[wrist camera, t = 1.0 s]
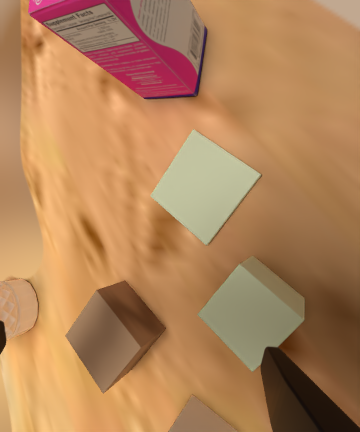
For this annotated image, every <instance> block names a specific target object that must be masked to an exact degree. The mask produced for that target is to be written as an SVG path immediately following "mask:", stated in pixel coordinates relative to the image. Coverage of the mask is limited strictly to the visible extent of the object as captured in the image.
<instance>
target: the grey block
mask: <svg viewBox="0 0 360 432" xmlns="http://www.w3.org/2000/svg"><path fill="white" fill-rule="evenodd" d="M168 432H238V431H237V430H235V429H234V428H233V427H232V426H230V425H229V424H228V423H227V422H226V421H224V420H223V419H222V418H221V417H219V416H218V415H217V414H216V413H215V412H213V411H212V410H211V409H210V408H208V407H207V406H206V405H205V404H204V403H202V402H201V401H200V400H199V399H197V398H196V397H195V396H194V395H192V396H191V398H190V399H189V401H188V402H187V404H186V405H185V407H184V408H183V410H182V411H181V413H180V414H179V416H178V418H177V419H176V421H175V422H174V424H173V425H172V427H171V428H170V430H169V431H168Z"/></svg>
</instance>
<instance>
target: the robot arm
mask: <svg viewBox="0 0 360 432" xmlns="http://www.w3.org/2000/svg"><path fill="white" fill-rule="evenodd" d="M5 345H6V332H5V325H4V322H3V321H1V320H0V354H1V352H2V351H3V349H4V347H5ZM261 375H262V380H263V386H264V391H265V396H266V402H267V407H268V412H269V417H270V422H271V426H272V430H273V432H360V428H359V427H358V426H357V425H356V424H355V423H354V422H353V421H352V420H351V419H350V418H349V417H348V416H347V415H346V414H345V413H344V412H343V411H342V410H341V409H340V408H339V407H338V406H337V405H336V404H335V403H334V402H333V401H332V400H331V399H330V398H329V397H328V396H327V395H326V394H325V393H324V392H323V391H322V390H321V389H320V388H319V387H318V386H317V385H316V384H315V383H314V382H313V381H312V380H311V379H310V378H309V377H308V376H307V375H306V374H305V373H304V372H303V371H302V370H301V369H300V368H299V367H298V366H297V365H296V364H295V363H294V362H293V361H292V360H291V359H290V358H289V357H288V356H287V355H286V354H285V353H284V352H283V351H282V350H281V349H279V348H278V347H271V346H267V347H266V348H265V350H264V354H263V358H262V362H261Z"/></svg>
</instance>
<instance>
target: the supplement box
mask: <svg viewBox="0 0 360 432" xmlns="http://www.w3.org/2000/svg"><path fill="white" fill-rule="evenodd" d="M28 13H29V15H30V16H31V17H33V18H34V19H36V20H37V21H38V22H40V23H41V24H42V25H44V26H45V27H46V28H48V29H49V30H51V31H52V32H53V33H55V34H56V35H58V36H59V37H60V38H62V39H63V40H64V41H66V42H67V43H69V44H70V45H71V46H73V47H74V48H75V49H77V50H78V51H79V52H81V53H82V54H84V55H85V56H86V57H88V58H89V59H91V60H92V61H93V62H95V63H96V64H97V65H99V66H100V67H102V68H103V69H104V70H106V71H107V72H109V73H110V74H111V75H113V76H114V77H115V78H117V79H118V80H119V81H121V82H122V83H124V84H125V85H126V86H128V87H129V88H130V89H132V90H133V91H135V92H136V93H137V94H139V95H140V96H141V97H143V98H144V99H153V98H169V97H184V96H197V93H198V88H199V81H200V75H201V68H202V61H203V55H204V48H205V41H206V34H207V28H206V27H205V26H204V24H203V22H202V20H201V18H200V17H199V15H198V13H197V11H196V10H195V8H194V6H193V4H192V2H191V1H190V0H30V2H29V11H28Z"/></svg>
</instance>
